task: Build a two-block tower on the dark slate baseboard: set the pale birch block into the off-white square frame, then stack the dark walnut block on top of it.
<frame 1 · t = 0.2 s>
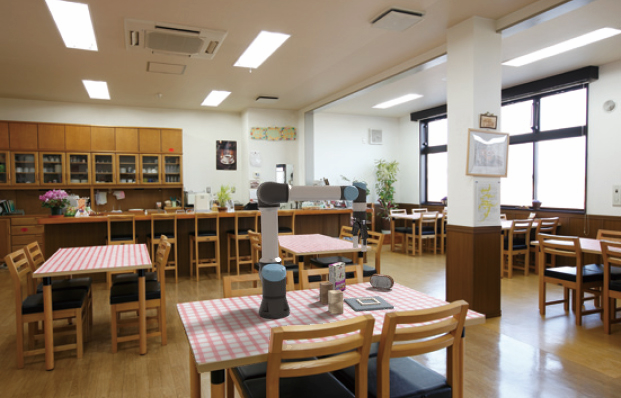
hand: (359, 249, 221), 28 cm above the table, tool pointing down, fingers open, 13 cm apart
tin: (381, 288, 247), on the table
square frame: (368, 301, 213), on the baseboard, point 1 cm above the table
birch block: (335, 311, 201), on the table
walnut block: (326, 301, 219), on the table
candy bar box: (337, 291, 241), on the table
baseboard: (368, 304, 213), on the table
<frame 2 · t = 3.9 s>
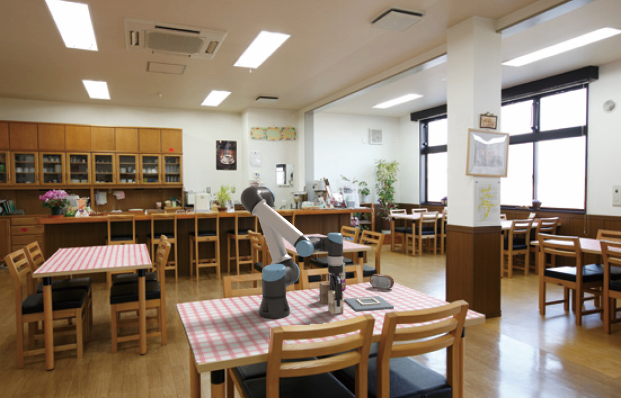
hand: (335, 310, 201), 0 cm above the table, tool pointing down, fingers closed on birch block, 6 cm apart
birch block: (335, 311, 201), on the table, touching gripper
everything else where it was.
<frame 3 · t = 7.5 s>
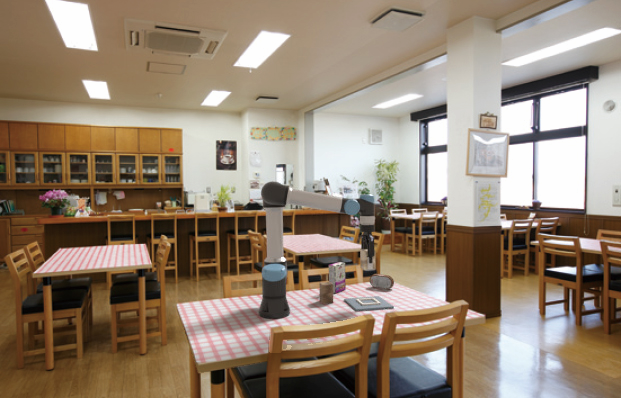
hand: (367, 268, 213), 19 cm above the table, tool pointing down, fingers closed on birch block, 6 cm apart
birch block: (367, 268, 213), point 19 cm above the table, touching gripper
everything else where it was.
when the fingers open (3 cm above the table, at t = 10.9 s): birch block drops 1 cm, resting on baseboard.
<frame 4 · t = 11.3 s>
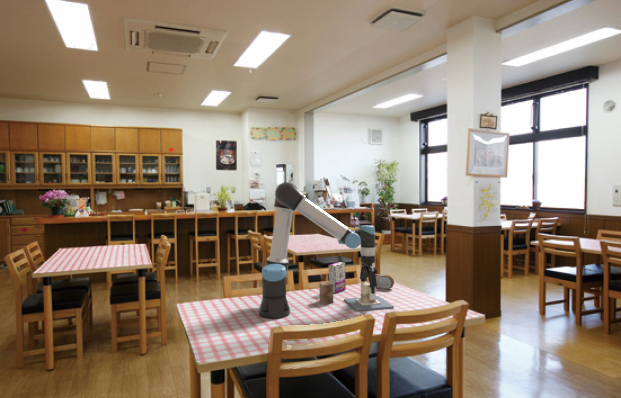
hand: (368, 296, 213), 4 cm above the table, tool pointing down, fingers open, 11 cm apart
birch block: (368, 302, 213), point 1 cm above the table, touching baseboard
everything else where it was.
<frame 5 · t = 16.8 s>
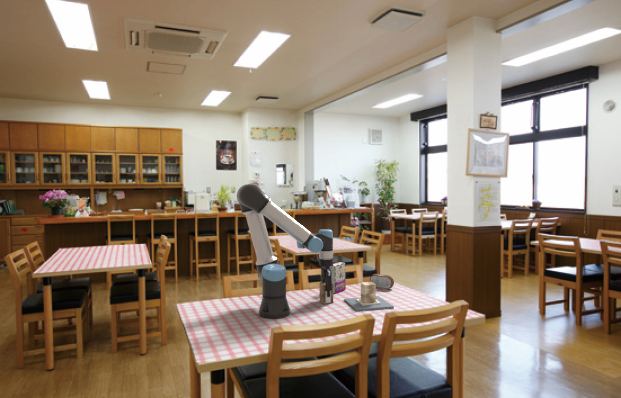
hand: (326, 300, 219), 0 cm above the table, tool pointing down, fingers closed on walnut block, 6 cm apart
walnut block: (326, 301, 219), on the table, touching gripper
everything else where it was.
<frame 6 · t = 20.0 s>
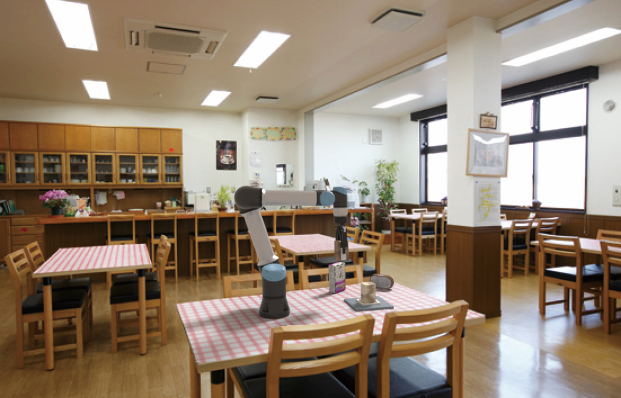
hand: (341, 258, 216), 23 cm above the table, tool pointing down, fingers closed on walnut block, 6 cm apart
walnut block: (341, 259, 216), point 23 cm above the table, touching gripper
everything else where it was.
when the fingers open (13 cm above the table, at t = 23.1 s): walnut block drops 1 cm, resting on birch block.
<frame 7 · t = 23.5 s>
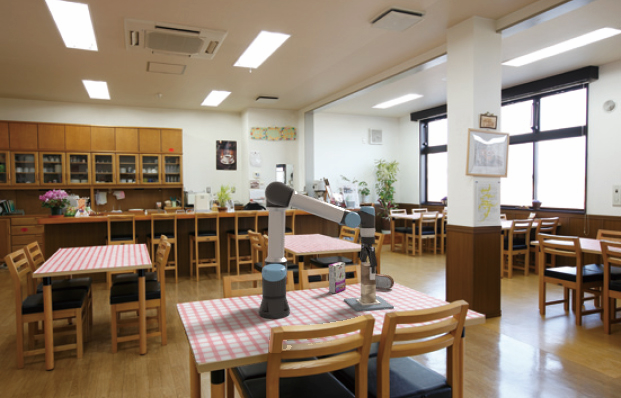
hand: (368, 276, 213), 14 cm above the table, tool pointing down, fingers open, 12 cm apart
birch block: (368, 302, 213), point 1 cm above the table, touching baseboard, walnut block
walnut block: (368, 283, 213), point 11 cm above the table, touching birch block
everything else where it was.
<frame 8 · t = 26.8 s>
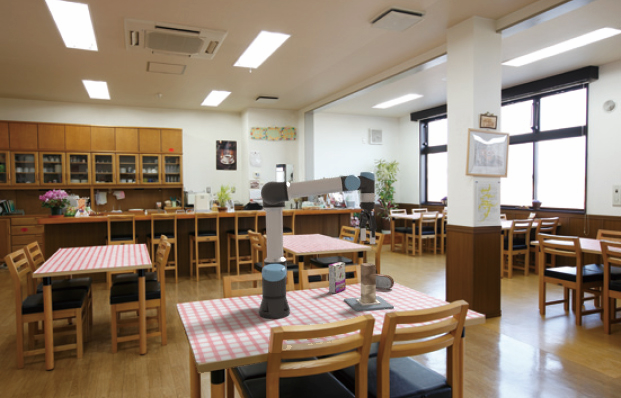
hand: (367, 242, 213), 33 cm above the table, tool pointing down, fingers open, 13 cm apart
nothing on the table moved.
at the end: birch block 0.1 cm off-centre on the baseboard, point 1.0 cm above the baseboard's base; walnut block 0.0 cm off-centre on the birch block, point 10.0 cm above the birch block's base; walnut block tilted 0° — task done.
